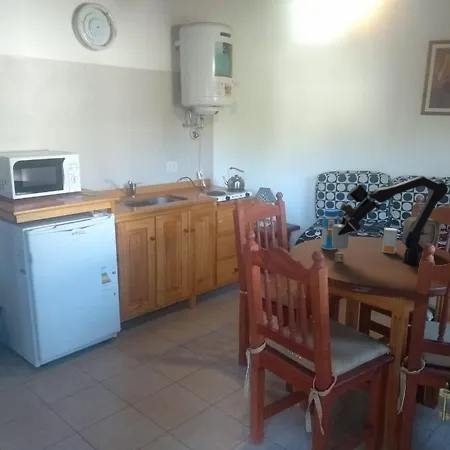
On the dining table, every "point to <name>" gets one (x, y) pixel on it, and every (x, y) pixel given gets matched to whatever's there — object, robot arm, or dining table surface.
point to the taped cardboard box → (338, 257)
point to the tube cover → (339, 237)
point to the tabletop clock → (425, 230)
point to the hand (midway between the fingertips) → (337, 232)
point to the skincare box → (389, 240)
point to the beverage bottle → (329, 228)
